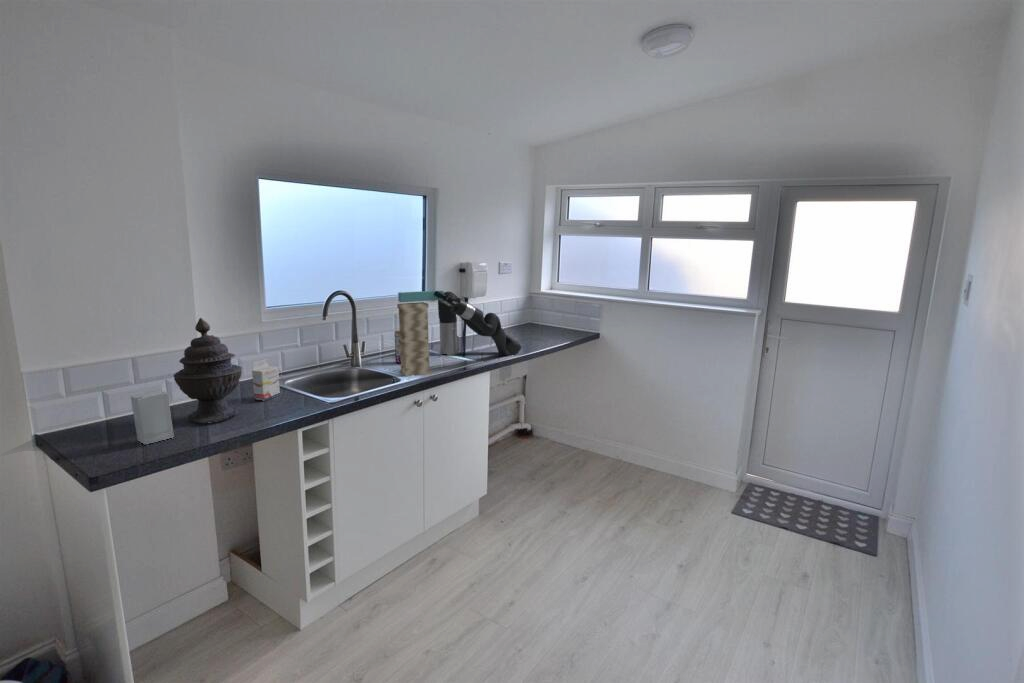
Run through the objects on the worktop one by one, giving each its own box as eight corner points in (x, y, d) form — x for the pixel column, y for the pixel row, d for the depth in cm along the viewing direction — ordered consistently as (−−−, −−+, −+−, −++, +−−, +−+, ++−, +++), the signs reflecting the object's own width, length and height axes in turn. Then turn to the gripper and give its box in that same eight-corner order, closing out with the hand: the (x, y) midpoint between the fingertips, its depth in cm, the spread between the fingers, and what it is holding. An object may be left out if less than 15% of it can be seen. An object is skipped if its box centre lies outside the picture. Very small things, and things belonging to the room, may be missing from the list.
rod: (440, 298, 248) (440, 290, 247) (443, 299, 244) (443, 290, 244) (398, 301, 238) (398, 292, 237) (401, 302, 235) (401, 293, 234)
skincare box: (167, 434, 167) (161, 388, 164) (175, 439, 164) (169, 391, 161) (136, 442, 161) (129, 394, 158) (143, 447, 157) (136, 398, 154)
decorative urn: (237, 423, 175) (220, 317, 170) (170, 431, 172) (151, 323, 167) (256, 408, 195) (242, 312, 190) (197, 414, 192) (180, 317, 187)
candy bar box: (395, 363, 266) (393, 330, 263) (398, 361, 270) (397, 329, 268) (417, 363, 264) (416, 331, 262) (420, 361, 269) (418, 329, 266)
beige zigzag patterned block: (425, 370, 251) (422, 302, 245) (430, 373, 245) (428, 303, 239) (400, 373, 245) (397, 303, 240) (405, 376, 239) (402, 305, 234)
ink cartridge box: (264, 402, 202) (261, 363, 199) (254, 400, 203) (250, 362, 201) (281, 396, 209) (278, 359, 207) (271, 394, 211) (267, 358, 208)
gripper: (466, 317, 246) (435, 301, 237) (453, 314, 258) (423, 298, 249) (473, 303, 246) (442, 286, 238) (460, 300, 258) (430, 284, 250)
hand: (432, 292), depth 243 cm, fingers closed on rod, 4 cm apart
